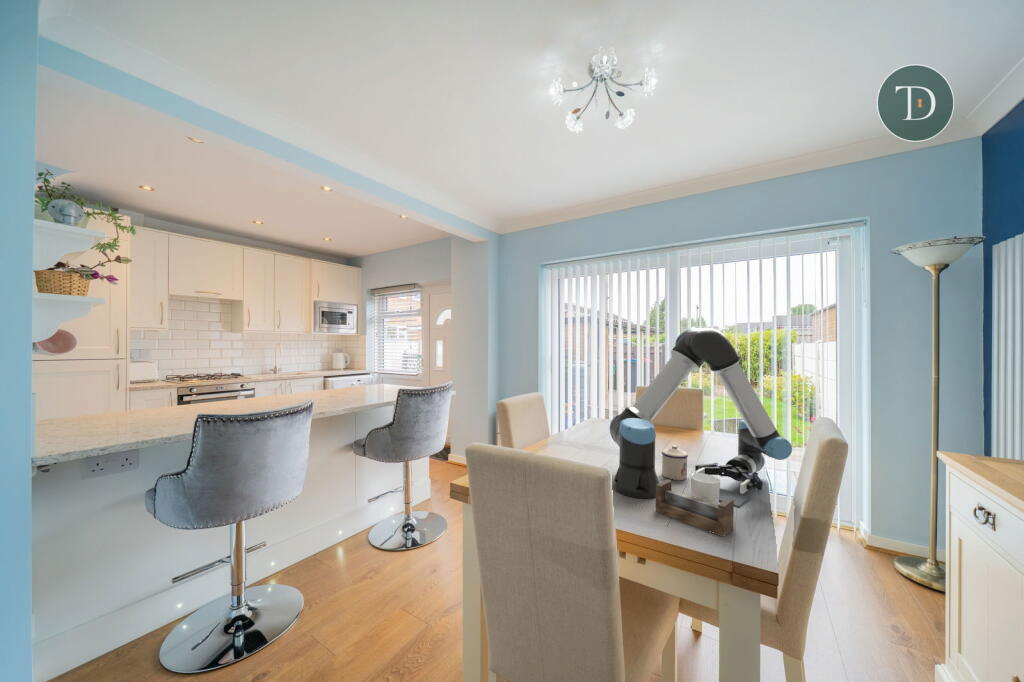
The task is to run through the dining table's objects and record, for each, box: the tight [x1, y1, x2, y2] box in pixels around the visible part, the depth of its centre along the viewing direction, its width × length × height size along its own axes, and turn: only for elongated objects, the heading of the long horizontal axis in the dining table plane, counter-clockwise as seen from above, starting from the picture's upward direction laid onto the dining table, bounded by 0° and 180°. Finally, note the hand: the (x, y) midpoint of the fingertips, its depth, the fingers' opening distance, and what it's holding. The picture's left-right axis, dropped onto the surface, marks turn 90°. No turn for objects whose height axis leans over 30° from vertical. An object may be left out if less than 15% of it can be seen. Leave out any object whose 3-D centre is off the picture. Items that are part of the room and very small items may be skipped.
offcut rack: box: [655, 478, 735, 537], centre depth 108 cm, size 19×7×8 cm, turn 41°
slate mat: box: [719, 488, 751, 508], centre depth 124 cm, size 12×10×1 cm
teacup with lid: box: [661, 444, 689, 481], centre depth 144 cm, size 12×9×12 cm
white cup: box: [690, 473, 721, 506], centre depth 114 cm, size 8×8×10 cm
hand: (717, 482), depth 119 cm, fingers open, 13 cm apart
